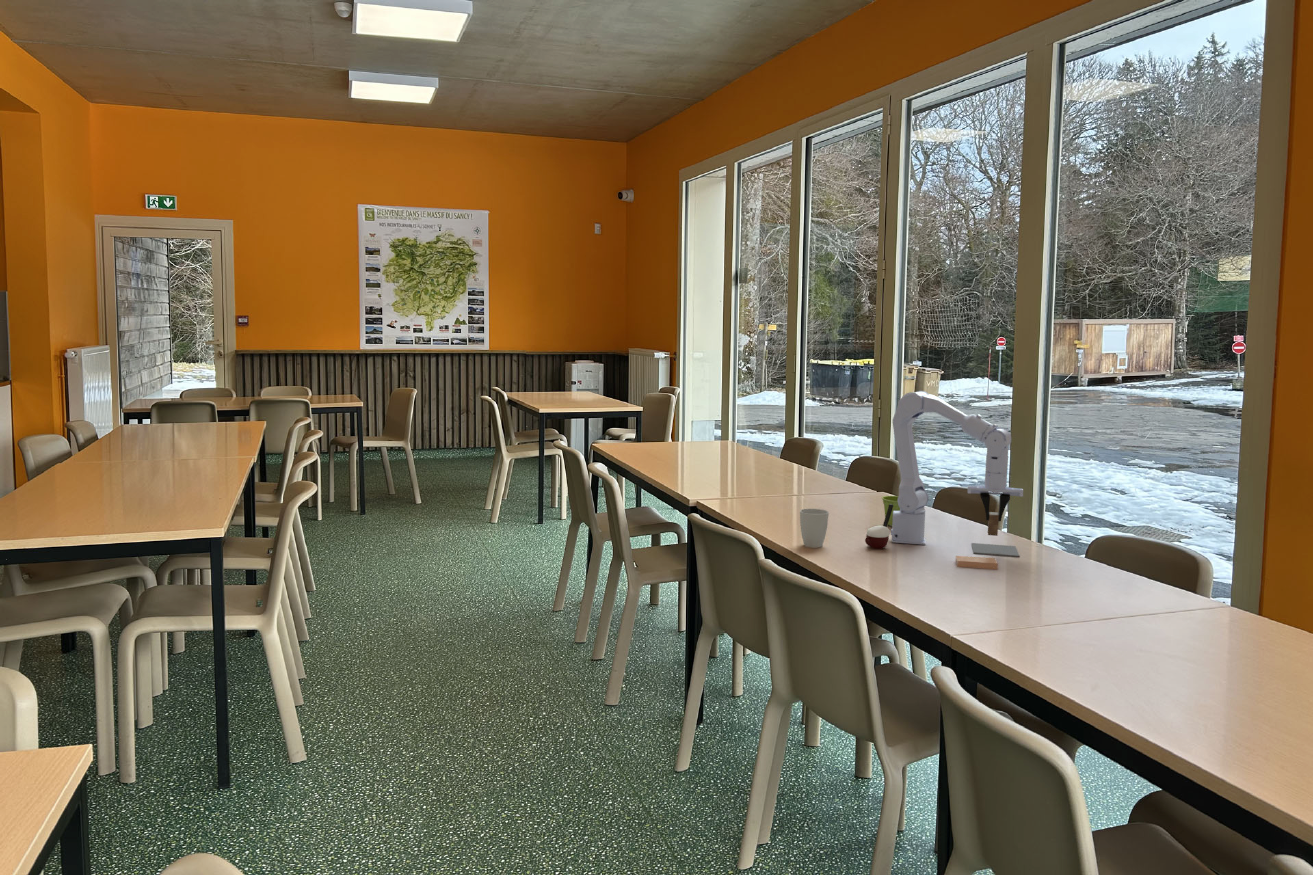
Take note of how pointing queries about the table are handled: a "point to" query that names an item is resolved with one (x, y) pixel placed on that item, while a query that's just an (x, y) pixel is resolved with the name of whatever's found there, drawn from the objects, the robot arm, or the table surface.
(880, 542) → the cocoa
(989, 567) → the tile
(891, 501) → the plant pot
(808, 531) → the cup
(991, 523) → the stick
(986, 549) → the mat
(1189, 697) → the table surface
